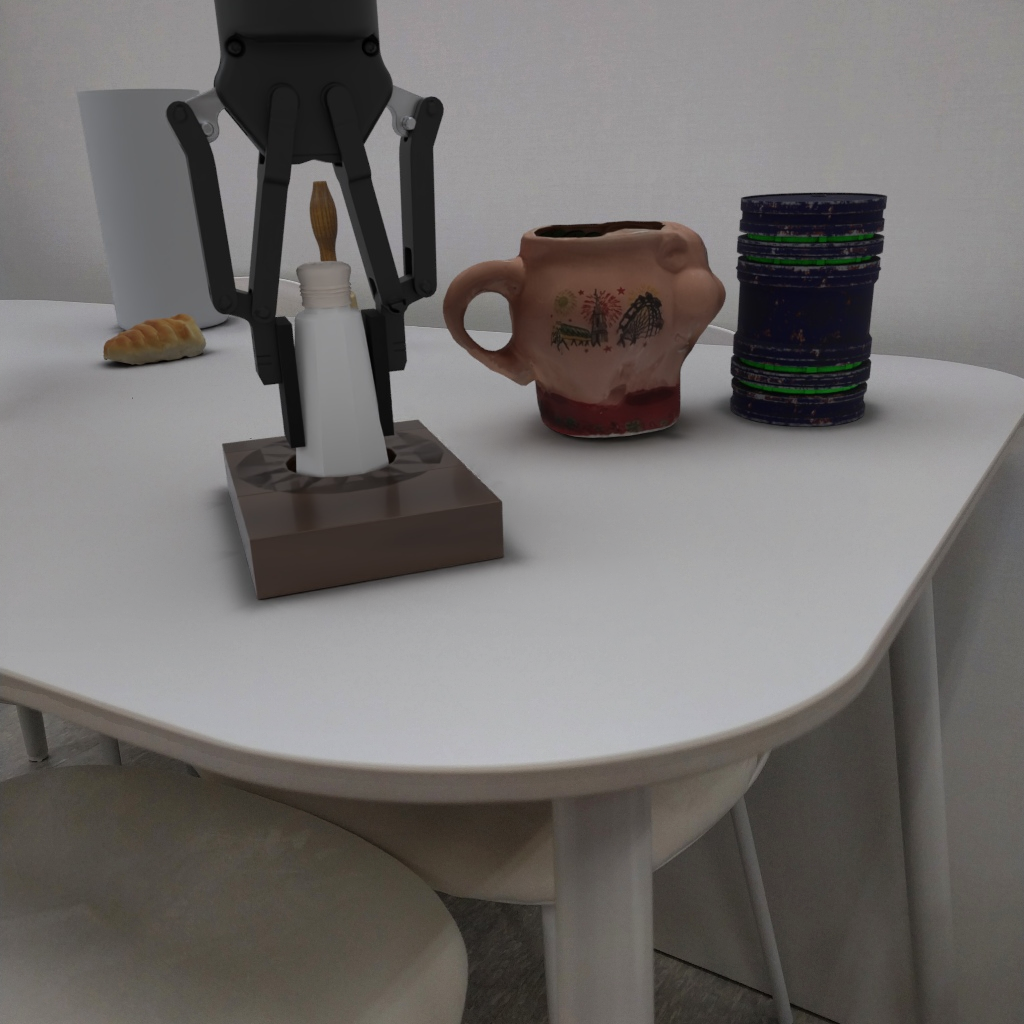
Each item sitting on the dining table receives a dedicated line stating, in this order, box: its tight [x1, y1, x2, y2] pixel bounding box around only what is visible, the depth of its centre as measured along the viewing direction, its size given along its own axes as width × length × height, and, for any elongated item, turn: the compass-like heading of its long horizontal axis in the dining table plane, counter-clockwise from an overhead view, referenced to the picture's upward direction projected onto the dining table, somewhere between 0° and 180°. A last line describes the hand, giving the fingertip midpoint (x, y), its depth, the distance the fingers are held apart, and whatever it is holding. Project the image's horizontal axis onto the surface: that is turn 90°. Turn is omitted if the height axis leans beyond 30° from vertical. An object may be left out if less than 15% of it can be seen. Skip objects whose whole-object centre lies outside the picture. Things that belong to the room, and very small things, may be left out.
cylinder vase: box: [76, 88, 230, 331], centre depth 109 cm, size 12×12×25 cm
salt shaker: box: [294, 260, 389, 477], centre depth 52 cm, size 5×5×11 cm
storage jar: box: [729, 192, 888, 427], centre depth 69 cm, size 10×10×15 cm
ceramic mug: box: [442, 220, 727, 439], centre depth 66 cm, size 20×12×14 cm, turn 113°
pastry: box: [102, 314, 207, 366], centre depth 95 cm, size 9×7×4 cm
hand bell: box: [309, 180, 360, 310], centre depth 95 cm, size 8×8×16 cm
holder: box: [221, 419, 505, 600], centre depth 53 cm, size 16×12×3 cm
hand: (338, 434), depth 53 cm, fingers closed on salt shaker, 4 cm apart
